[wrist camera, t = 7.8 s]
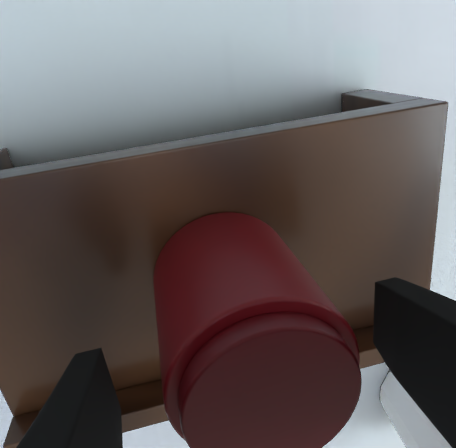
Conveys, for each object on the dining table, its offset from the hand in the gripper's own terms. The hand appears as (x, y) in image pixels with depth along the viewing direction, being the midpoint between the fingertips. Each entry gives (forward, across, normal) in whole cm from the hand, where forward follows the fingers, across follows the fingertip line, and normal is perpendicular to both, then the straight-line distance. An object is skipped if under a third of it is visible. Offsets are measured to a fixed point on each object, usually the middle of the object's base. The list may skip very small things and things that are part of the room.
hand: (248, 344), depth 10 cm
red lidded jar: (+3, 0, 0) cm, 3 cm away
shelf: (+8, 0, 0) cm, 9 cm away
